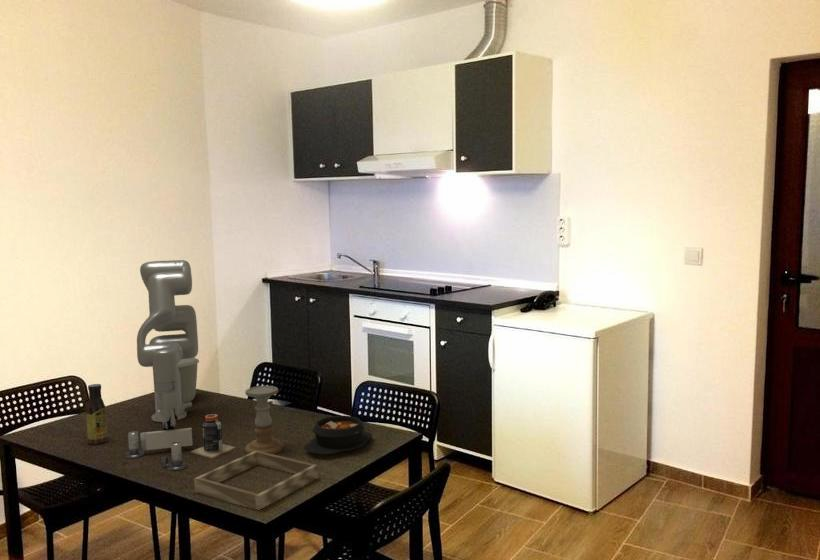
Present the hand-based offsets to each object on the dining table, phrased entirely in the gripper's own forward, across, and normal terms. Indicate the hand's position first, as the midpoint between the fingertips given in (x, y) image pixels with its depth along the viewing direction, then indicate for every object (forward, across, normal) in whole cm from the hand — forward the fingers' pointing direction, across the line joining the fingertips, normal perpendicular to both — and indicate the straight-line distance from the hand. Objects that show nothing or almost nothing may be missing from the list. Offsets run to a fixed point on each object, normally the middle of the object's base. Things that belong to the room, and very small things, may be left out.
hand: (169, 439), depth 227 cm
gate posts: (+3, +9, -7) cm, 12 cm away
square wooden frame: (+2, +47, +10) cm, 48 cm away
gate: (+1, +3, -2) cm, 4 cm away
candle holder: (+3, +22, +24) cm, 32 cm away
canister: (+4, -52, +20) cm, 56 cm away
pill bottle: (+3, +12, +10) cm, 16 cm away
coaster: (+3, +12, +10) cm, 16 cm away
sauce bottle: (+4, -22, -18) cm, 28 cm away
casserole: (+3, +35, +44) cm, 57 cm away
